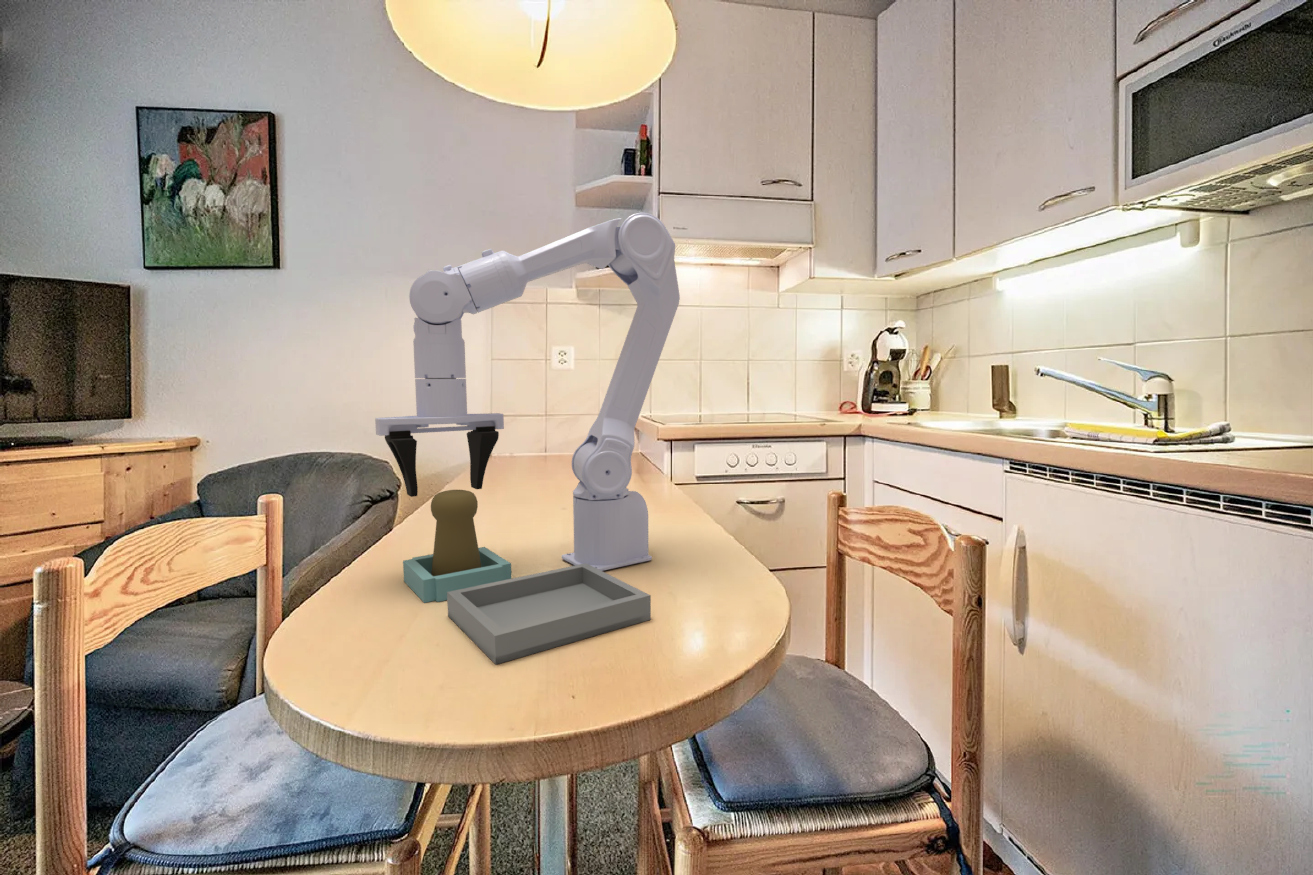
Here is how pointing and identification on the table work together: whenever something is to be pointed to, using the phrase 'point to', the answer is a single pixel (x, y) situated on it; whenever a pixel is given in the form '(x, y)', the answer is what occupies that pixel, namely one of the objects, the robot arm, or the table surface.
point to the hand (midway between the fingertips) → (445, 491)
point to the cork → (454, 532)
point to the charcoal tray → (545, 610)
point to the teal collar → (453, 575)
